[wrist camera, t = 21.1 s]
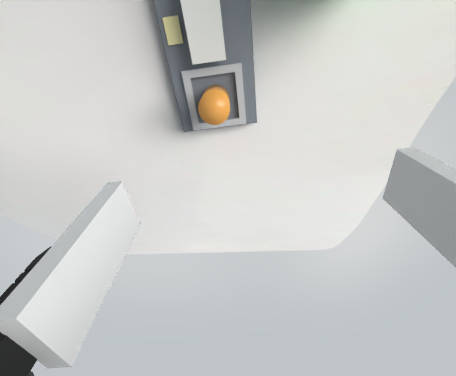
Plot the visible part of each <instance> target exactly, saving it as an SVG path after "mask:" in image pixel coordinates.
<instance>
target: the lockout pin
mask: <svg viewBox="0 0 456 376" xmlns="http://www.w3.org/2000/svg"><path fill="white" fill-rule="evenodd" d="M198 111H199V114H200V116H201V118H202V119H203V120H204V121H205V122H206V123H208V124H211V125H219V124H221V123H223V122H224V121H226V119H227V118H228V116H229V113H230V102H229V94H228V92H227V90H226V89H225V88H224V87H223V86H221V85H217V84H215V85H211V86H209V87H208V88H207V89H206V90H205V92H204V94H203V96H202V98H201V100H200V102H199V106H198Z"/></svg>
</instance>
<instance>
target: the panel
mask: <svg viewBox="0 0 456 376" xmlns="http://www.w3.org/2000/svg"><path fill="white" fill-rule="evenodd" d="M154 5H155V9H156V13H157V18H158V22H159V26H160V31H161V35H162V39H163V43H164V48H165V52H166V56H167V61H168V65H169V69H170V74H171V78H172V82H173V87H174V91H175V95H176V99H177V104H178V108H179V112H180V117H181V121H182V125H183V130H184V132H187V131H195V130H202V129H210V128H218V127H226V126H234V125H242V124H250V123H257V115H256V97H255V79H254V61H253V43H252V25H251V7H250V0H220V8H221V17H222V26H223V35H224V44H225V53H226V60H222V61H215V62H208V63H201V64H194V65H193V64H192V59H191V53H190V48H189V43H188V38H187V33H186V27H185V22H184V17H183V12H182V7H181V2H180V0H154ZM215 84H217V85H221V86H223V87H224V88H225V89H226V90H227V92H228V94H229V102H230V113H229V116H228V118H227V119H226V121H224V122H223V123H221V124H219V125H211V124H208V123H206V122H205V121H204V120H203V119H202V118H201V116H200V114H199V111H198V106H199V102H200V100H201V98H202V96H203V94H204V92H205V90H206V89H207V88H208V87H209V86H211V85H215Z"/></svg>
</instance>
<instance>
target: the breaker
mask: <svg viewBox="0 0 456 376" xmlns="http://www.w3.org/2000/svg"><path fill="white" fill-rule="evenodd" d="M180 2H181V7H182V12H183V17H184V22H185V27H186V33H187V38H188V43H189V48H190V53H191V59H192V64H193V65H194V64H201V63H208V62H215V61H222V60H226V53H225V44H224V35H223V26H222V17H221V8H220V0H180Z"/></svg>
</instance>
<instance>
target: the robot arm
mask: <svg viewBox="0 0 456 376" xmlns="http://www.w3.org/2000/svg"><path fill="white" fill-rule="evenodd" d="M383 199H384V200H385V201H386V202H387V203H388V204H389V205H390V206H391V207H392V208H393V209H394V210H396V211H397V212H398V213H399V214H400V215H401V216H402V217H403V218H404V219H405V220H406V221H407V222H408V223H409V224H411V226H412V227H413V228H415V229H416V230H417V231H418V232H419V233H420V234H421V235H422V236H423V237H424V238H425V239H426V240H427V241H428V242H429V243H430V244H431V245H432V246H434V247H435V248H436V249H437V250H438V251H439V252H440V253H441V254H442V255H443V256H444V257H445V258H446V259H447V260H448V261H449V262H450V263H451V264H453V265H454V266H455V267H456V169H454V168H453V167H450V166H449V165H447V164H445V163H443V162H441V161H439V160H437V159H435V158H433V157H431V156H430V155H428V154H426V153H424V152H422V151H420V150H418V149H416V148H405V149H397V151H396V155H395V158H394V161H393V165H392V168H391V171H390V175H389V178H388V182H387V185H386V188H385V192H384V195H383ZM140 224H141V223H140V220H139V218H138V216H137V214H136V211H135V209H134V207H133V204H132V202H131V200H130V197H129V195H128V193H127V190H126V188H125V186H124V183H123V181H121V182H112V183H107V184H106V185H105V187H104V188H103V189H102V190H101V191H100V192H99V193H98V195H97V196H96V197H95V198H94V199H93V200H92V201H91V203H90V204H89V205H88V206H87V207H86V208H85V209H84V211H83V212H82V213H81V214H80V215H79V216H78V217H77V219H76V220H75V221H74V222H73V223H72V224H71V225H70V226H69V228H68V229H67V230H66V231H65V232H64V233H63V234H62V236H61V237H60V238H59V239H58V240H57V241H56V242H55V244H54V245H53V246H52V247H49V248H48V249H47V250H45V251H44V252H43V253H42V254H40V255H39V256H37V257H36V258H35V259H34V260H33V261H32V262H31V264H30V265H29V266H28V267H27V268H26V269H25V272H24V273H22V274H21V275H20V276H19V277H18V278H17V279H16V280H15V283H13V284H12V285H11V286H10V287H9V288H8V289H7V290H6V291H5V292H4V293H3V294H2V295H1V297H0V376H34V374H33V372H31V369H32V367H33V366H34V364H35V362H36V361H37V360H38V361H39V362H40V363H42V364H43V365H44V366H45V367H47V368H60V367H72V365H73V363H74V361H75V359H76V357H77V355H78V353H79V350H80V348H81V346H82V344H83V342H84V340H85V338H86V336H87V334H88V332H89V330H90V328H91V326H92V324H93V321H94V319H95V317H96V315H97V313H98V311H99V309H100V307H101V305H102V303H103V301H104V299H105V296H106V294H107V292H108V290H109V288H110V286H111V284H112V282H113V280H114V278H115V276H116V274H117V272H118V269H119V268H120V266H121V264H122V261H123V259H124V257H125V255H126V253H127V251H128V249H129V247H130V245H131V243H132V241H133V239H134V237H135V235H136V232H137V230H138V228H139V226H140Z"/></svg>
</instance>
